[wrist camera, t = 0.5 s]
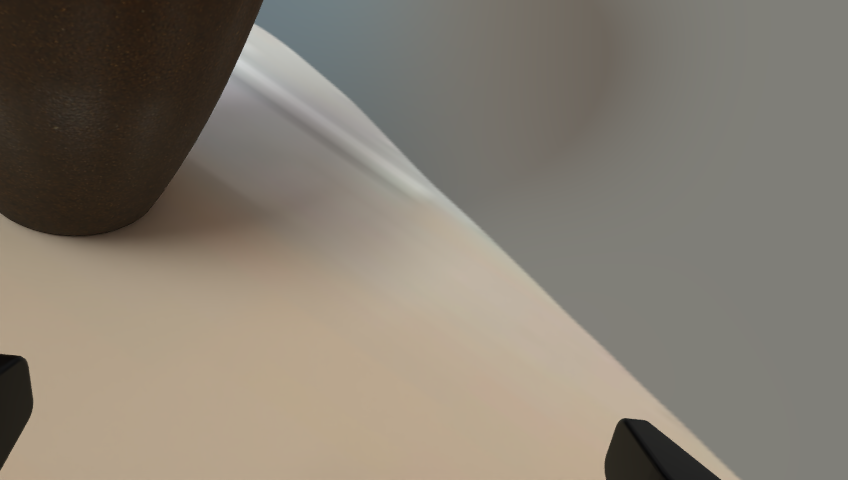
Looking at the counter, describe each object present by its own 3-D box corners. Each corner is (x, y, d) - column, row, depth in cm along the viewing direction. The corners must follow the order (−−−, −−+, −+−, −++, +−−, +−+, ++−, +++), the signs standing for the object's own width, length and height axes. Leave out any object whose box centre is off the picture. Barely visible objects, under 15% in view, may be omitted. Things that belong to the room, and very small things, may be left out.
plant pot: (-100, 349, 21) (-251, -149, 11) (-159, 100, 28) (-286, -350, 18) (278, 259, 31) (375, -52, 21) (168, 90, 38) (202, -206, 28)
